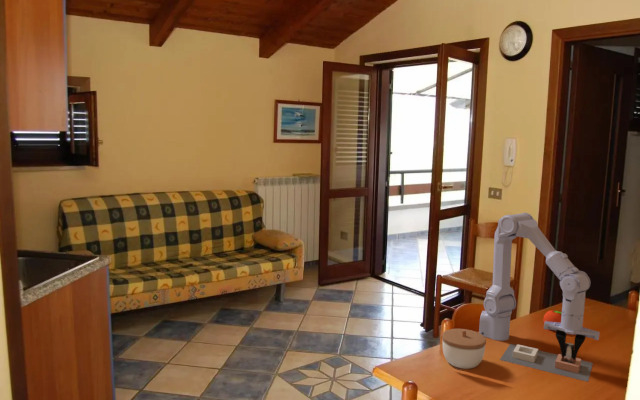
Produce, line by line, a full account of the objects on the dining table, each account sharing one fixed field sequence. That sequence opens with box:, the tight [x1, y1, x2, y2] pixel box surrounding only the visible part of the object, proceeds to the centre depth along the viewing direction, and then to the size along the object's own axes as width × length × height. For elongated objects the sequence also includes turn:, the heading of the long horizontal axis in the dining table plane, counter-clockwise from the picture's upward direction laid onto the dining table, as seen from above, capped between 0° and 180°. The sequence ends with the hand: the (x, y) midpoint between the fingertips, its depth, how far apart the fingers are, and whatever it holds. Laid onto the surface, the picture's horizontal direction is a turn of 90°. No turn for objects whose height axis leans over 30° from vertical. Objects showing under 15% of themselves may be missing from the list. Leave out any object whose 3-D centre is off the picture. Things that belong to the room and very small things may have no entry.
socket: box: [555, 353, 582, 373], centre depth 151 cm, size 6×6×2 cm
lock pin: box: [564, 342, 575, 364], centre depth 151 cm, size 2×2×6 cm
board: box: [499, 343, 594, 382], centre depth 155 cm, size 24×14×1 cm, turn 57°
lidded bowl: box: [441, 328, 487, 372], centre depth 153 cm, size 13×13×11 cm
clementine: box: [542, 309, 562, 323], centre depth 181 cm, size 8×7×7 cm
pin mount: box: [513, 343, 539, 363], centre depth 158 cm, size 6×6×2 cm
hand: (568, 356), depth 151 cm, fingers closed on lock pin, 2 cm apart
